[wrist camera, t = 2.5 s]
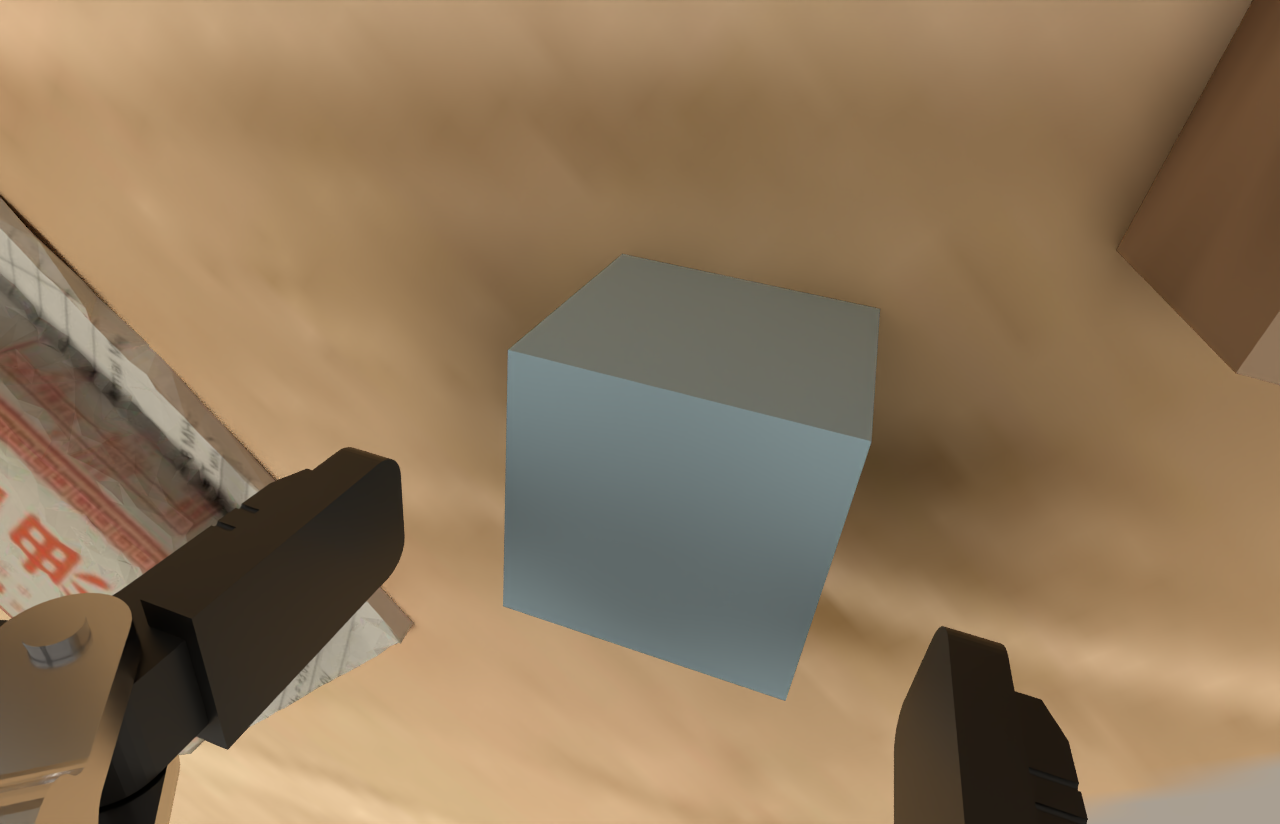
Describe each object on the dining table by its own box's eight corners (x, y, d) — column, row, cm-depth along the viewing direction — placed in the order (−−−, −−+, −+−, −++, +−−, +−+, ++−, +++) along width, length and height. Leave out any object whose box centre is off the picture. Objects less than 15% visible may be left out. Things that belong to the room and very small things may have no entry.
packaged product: (-317, 388, 20) (-301, 154, 14) (-109, 326, 24) (-39, 126, 19) (171, 815, 23) (323, 749, 18) (279, 697, 27) (429, 615, 22)
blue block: (623, 252, 14) (508, 349, 10) (880, 307, 13) (871, 441, 9) (602, 459, 17) (503, 606, 12) (815, 519, 16) (785, 700, 11)
